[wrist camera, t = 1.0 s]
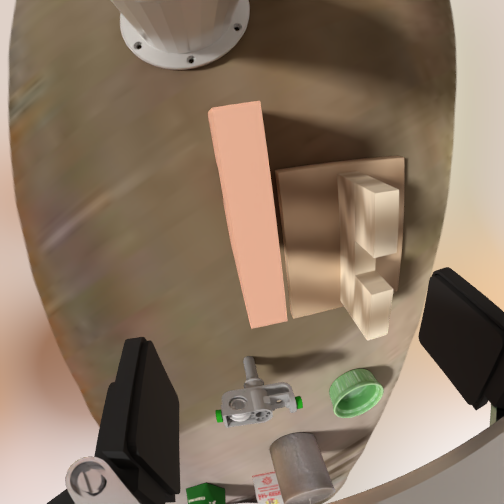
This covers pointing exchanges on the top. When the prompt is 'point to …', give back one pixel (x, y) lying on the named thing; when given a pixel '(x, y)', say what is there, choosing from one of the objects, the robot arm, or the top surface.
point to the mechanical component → (255, 400)
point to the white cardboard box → (267, 489)
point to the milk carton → (206, 494)
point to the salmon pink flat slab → (250, 208)
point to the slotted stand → (343, 237)
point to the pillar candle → (300, 469)
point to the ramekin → (355, 393)
